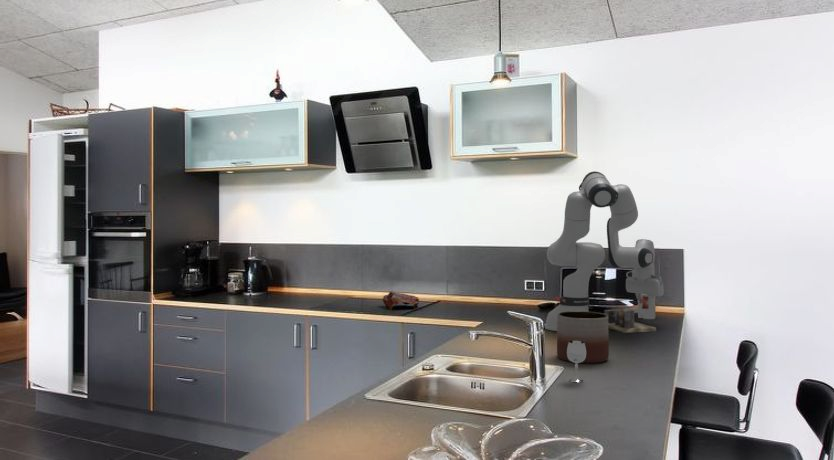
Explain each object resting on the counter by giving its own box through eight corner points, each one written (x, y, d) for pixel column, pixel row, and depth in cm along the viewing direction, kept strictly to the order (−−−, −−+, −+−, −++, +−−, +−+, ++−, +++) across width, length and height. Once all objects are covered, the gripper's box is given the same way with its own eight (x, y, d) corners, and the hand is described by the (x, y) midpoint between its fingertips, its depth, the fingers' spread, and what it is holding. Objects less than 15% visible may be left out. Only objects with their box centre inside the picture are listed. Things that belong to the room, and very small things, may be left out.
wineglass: (564, 378, 189) (564, 340, 188) (582, 378, 189) (582, 340, 189) (570, 383, 183) (570, 344, 183) (589, 383, 183) (589, 343, 183)
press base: (623, 332, 265) (623, 312, 265) (605, 326, 280) (605, 307, 280) (655, 331, 269) (656, 310, 269) (636, 325, 284) (636, 306, 283)
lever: (609, 318, 272) (609, 299, 272) (603, 316, 276) (603, 298, 276) (651, 314, 281) (651, 297, 281) (644, 313, 285) (644, 295, 285)
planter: (600, 367, 204) (601, 320, 204) (549, 360, 213) (550, 315, 213) (614, 356, 219) (614, 313, 219) (566, 351, 229) (566, 309, 228)
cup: (656, 319, 300) (656, 295, 300) (639, 318, 302) (639, 294, 302) (653, 316, 308) (653, 293, 308) (636, 316, 310) (637, 292, 310)
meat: (404, 304, 357) (404, 287, 357) (428, 308, 341) (428, 290, 340) (375, 307, 343) (375, 289, 343) (398, 311, 327) (398, 293, 327)
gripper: (667, 275, 275) (667, 306, 275) (633, 272, 293) (633, 301, 294) (657, 276, 272) (656, 307, 272) (623, 272, 291) (623, 301, 291)
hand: (644, 303), depth 283 cm, fingers open, 4 cm apart
